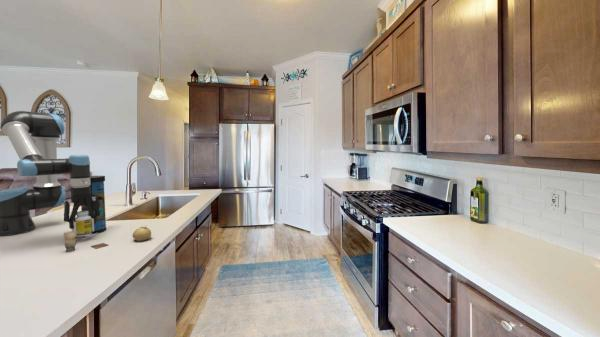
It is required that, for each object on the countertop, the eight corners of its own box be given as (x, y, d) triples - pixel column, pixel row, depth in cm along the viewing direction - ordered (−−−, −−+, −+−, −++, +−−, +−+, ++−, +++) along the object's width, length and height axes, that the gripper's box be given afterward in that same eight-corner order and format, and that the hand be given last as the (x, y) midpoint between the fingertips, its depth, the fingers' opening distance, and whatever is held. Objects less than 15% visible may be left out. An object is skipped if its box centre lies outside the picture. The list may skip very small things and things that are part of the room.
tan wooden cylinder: (63, 250, 115) (62, 233, 115) (73, 248, 119) (72, 230, 118) (67, 252, 114) (66, 234, 113) (77, 249, 117) (76, 232, 116)
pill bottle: (82, 237, 125) (80, 213, 124) (71, 236, 127) (70, 212, 126) (95, 233, 132) (94, 210, 131) (84, 232, 133) (83, 209, 132)
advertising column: (86, 236, 135) (83, 178, 133) (77, 232, 141) (74, 176, 138) (111, 230, 144) (108, 176, 142) (101, 227, 150) (99, 175, 148)
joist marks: (69, 238, 132) (69, 237, 132) (81, 235, 136) (81, 234, 136) (95, 248, 118) (95, 248, 118) (108, 245, 122) (108, 244, 122)
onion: (131, 243, 125) (131, 229, 125) (133, 238, 132) (133, 224, 132) (151, 241, 129) (150, 226, 128) (151, 236, 136) (151, 222, 135)
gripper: (58, 189, 117) (61, 240, 119) (107, 184, 134) (109, 228, 136) (51, 188, 121) (54, 237, 122) (100, 183, 138) (102, 226, 139)
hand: (83, 232), depth 129 cm, fingers closed on pill bottle, 6 cm apart
